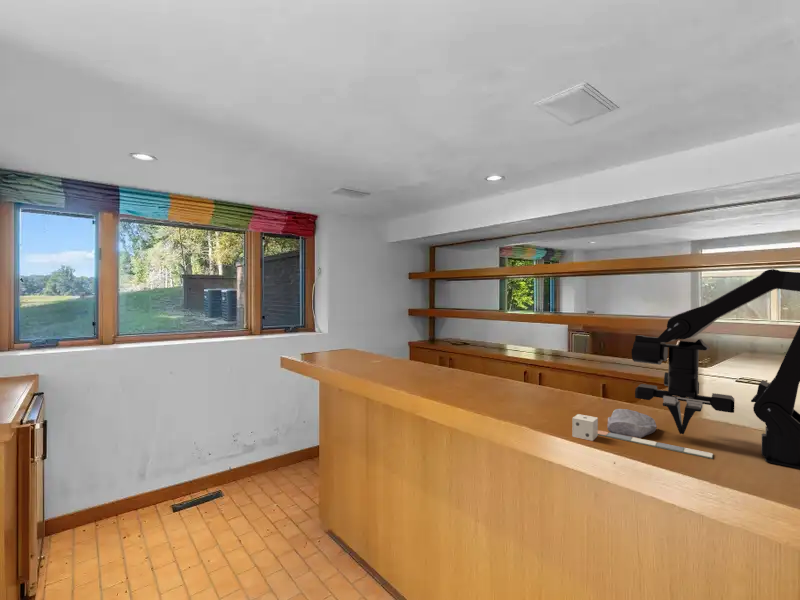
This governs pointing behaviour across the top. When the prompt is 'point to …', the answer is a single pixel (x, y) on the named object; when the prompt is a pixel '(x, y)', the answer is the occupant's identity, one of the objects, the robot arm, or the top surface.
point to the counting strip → (657, 444)
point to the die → (585, 427)
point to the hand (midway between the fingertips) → (681, 433)
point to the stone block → (631, 423)
